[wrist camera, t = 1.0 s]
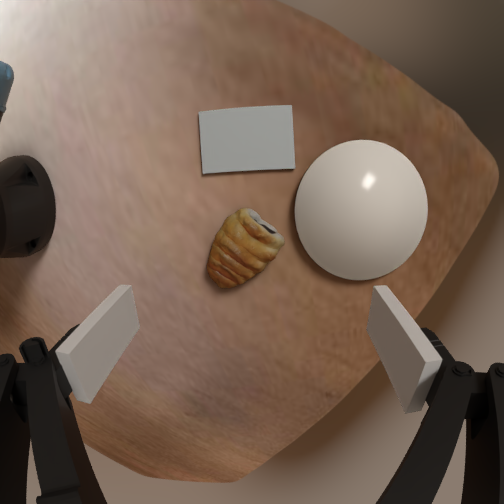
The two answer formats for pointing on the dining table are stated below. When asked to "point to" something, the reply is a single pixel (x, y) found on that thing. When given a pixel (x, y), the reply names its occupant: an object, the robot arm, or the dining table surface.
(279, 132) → the napkin
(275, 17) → the dining table surface
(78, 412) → the dining table surface
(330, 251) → the plate
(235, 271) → the pastry
